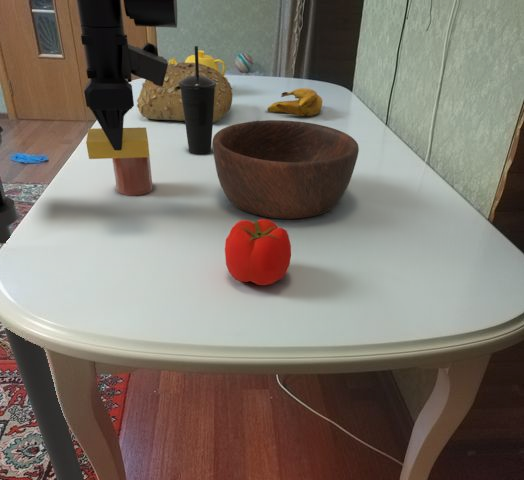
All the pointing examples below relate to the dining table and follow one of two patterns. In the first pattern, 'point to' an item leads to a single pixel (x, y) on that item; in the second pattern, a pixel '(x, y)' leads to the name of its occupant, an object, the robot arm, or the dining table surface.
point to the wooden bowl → (284, 167)
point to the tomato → (257, 251)
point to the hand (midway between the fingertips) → (118, 142)
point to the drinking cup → (198, 110)
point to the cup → (133, 175)
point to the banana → (299, 103)
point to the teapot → (204, 61)
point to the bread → (169, 95)
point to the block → (131, 144)
